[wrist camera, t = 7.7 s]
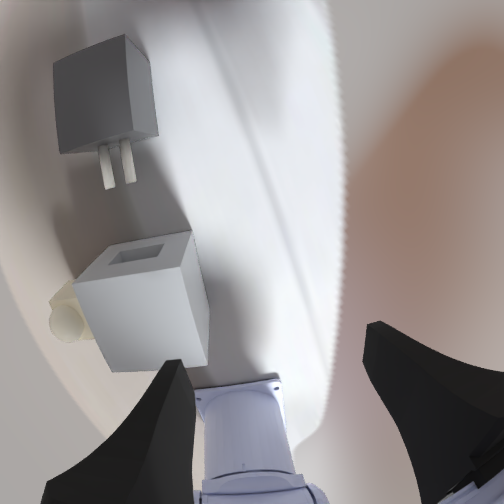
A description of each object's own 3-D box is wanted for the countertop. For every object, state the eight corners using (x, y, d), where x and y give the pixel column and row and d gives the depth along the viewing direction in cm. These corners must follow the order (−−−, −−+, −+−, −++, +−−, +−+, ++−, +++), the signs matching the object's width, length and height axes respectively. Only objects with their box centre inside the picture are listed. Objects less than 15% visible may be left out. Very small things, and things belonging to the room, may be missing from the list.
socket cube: (209, 309, 20) (207, 365, 15) (134, 319, 20) (112, 372, 14) (192, 230, 18) (179, 266, 13) (109, 245, 18) (71, 283, 12)
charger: (164, 173, 16) (142, 182, 12) (107, 186, 16) (69, 202, 11) (148, 42, 13) (124, 9, 8) (92, 60, 13) (54, 38, 8)
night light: (122, 313, 18) (102, 353, 14) (80, 317, 18) (55, 354, 14) (108, 274, 17) (81, 309, 13) (65, 281, 17) (34, 313, 13)
